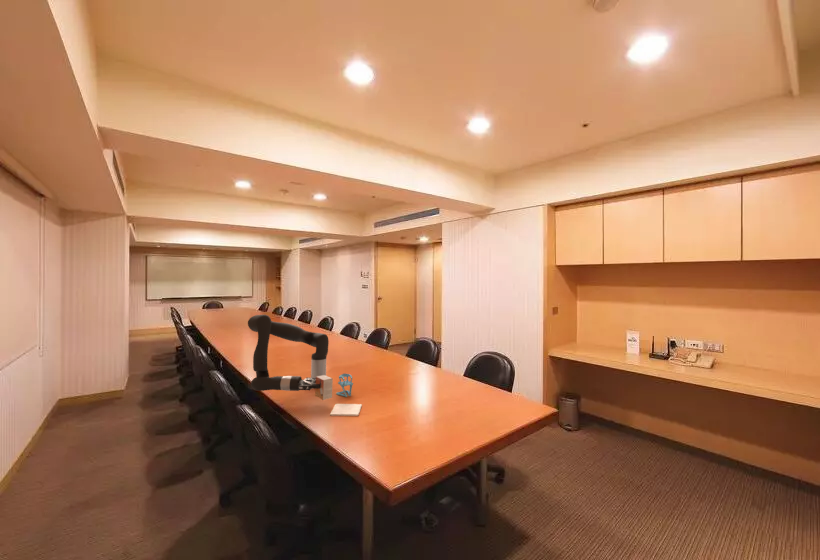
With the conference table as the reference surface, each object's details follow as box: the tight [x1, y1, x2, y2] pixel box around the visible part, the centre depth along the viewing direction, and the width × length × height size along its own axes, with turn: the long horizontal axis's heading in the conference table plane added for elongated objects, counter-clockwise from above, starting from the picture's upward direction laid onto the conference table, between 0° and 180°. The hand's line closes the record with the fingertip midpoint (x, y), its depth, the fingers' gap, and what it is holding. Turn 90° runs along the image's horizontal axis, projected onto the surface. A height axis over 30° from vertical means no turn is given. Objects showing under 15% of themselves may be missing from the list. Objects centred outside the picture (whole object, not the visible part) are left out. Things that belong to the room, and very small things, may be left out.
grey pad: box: [329, 403, 363, 417], centre depth 175 cm, size 14×14×1 cm
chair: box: [336, 373, 354, 398], centre depth 199 cm, size 8×8×12 cm
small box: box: [314, 374, 334, 401], centre depth 179 cm, size 8×6×10 cm
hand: (322, 383), depth 180 cm, fingers closed on small box, 7 cm apart
